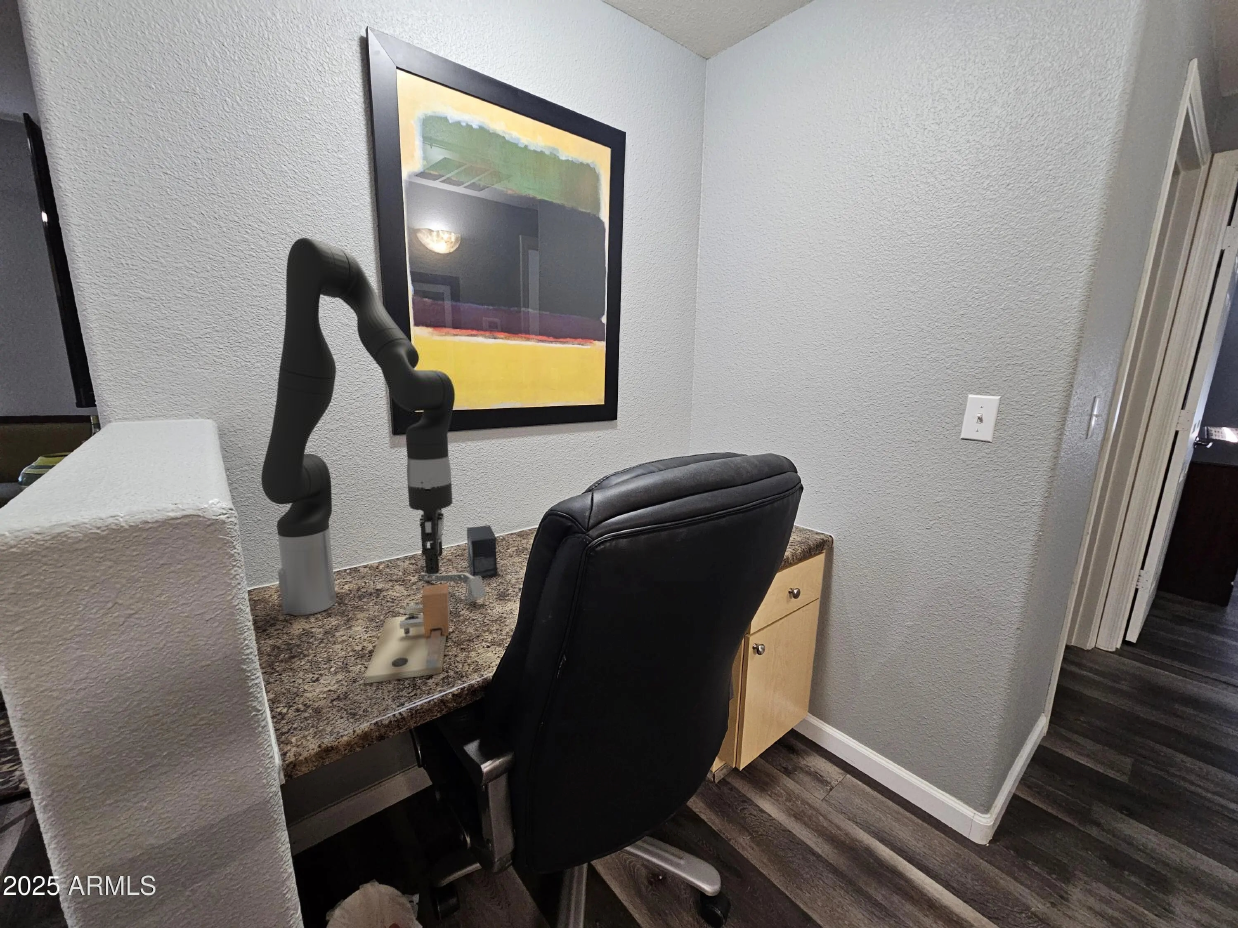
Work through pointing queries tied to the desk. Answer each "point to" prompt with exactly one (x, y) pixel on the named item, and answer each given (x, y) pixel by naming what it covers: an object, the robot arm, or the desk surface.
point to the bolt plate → (402, 653)
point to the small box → (482, 551)
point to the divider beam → (434, 640)
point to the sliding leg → (432, 611)
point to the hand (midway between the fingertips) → (434, 564)
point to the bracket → (473, 583)
